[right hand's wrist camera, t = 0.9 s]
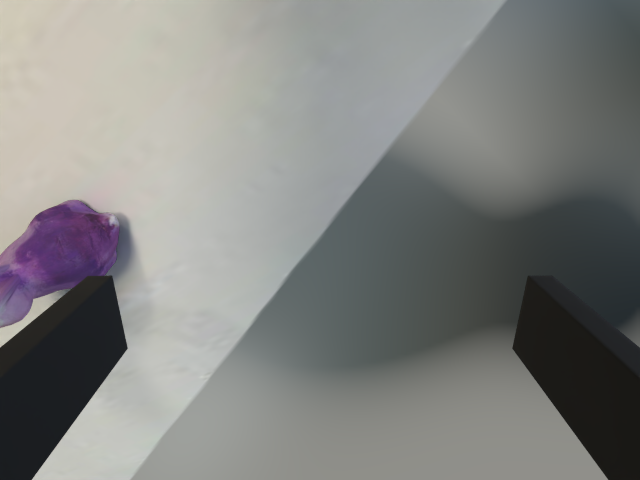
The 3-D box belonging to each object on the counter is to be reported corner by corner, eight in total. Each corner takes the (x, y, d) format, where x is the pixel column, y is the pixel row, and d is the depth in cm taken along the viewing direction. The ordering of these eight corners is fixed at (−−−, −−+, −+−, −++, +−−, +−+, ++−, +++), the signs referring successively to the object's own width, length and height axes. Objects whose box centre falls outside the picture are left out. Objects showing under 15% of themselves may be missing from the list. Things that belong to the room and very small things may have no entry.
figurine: (35, 277, 43) (-101, 368, 29) (32, 187, 40) (-124, 244, 26) (123, 294, 44) (31, 391, 30) (128, 208, 40) (27, 273, 26)
